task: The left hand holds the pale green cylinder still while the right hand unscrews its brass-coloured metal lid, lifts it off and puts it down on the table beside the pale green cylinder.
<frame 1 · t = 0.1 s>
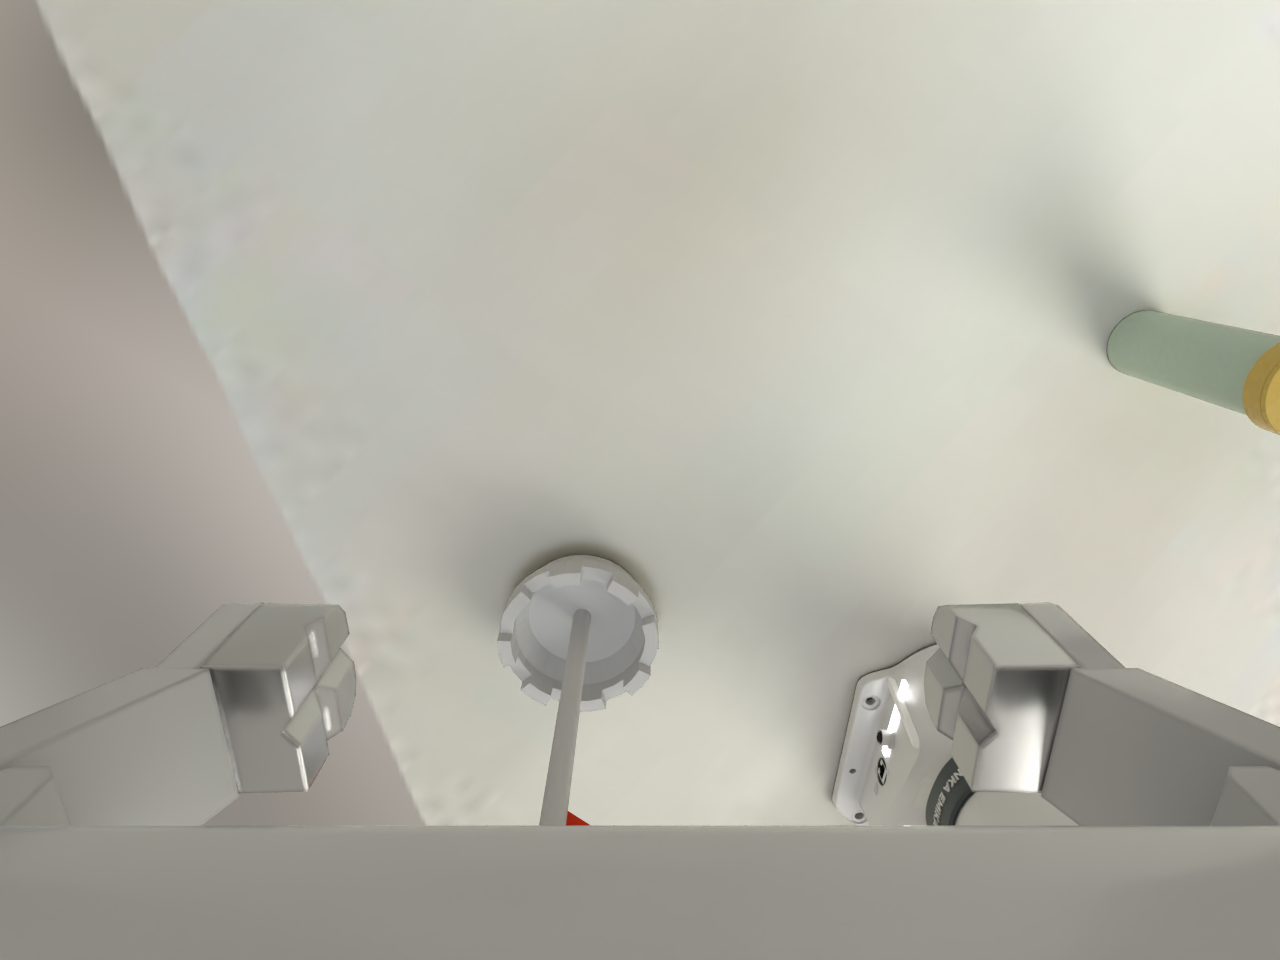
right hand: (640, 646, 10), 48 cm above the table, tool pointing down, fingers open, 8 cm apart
pale green cylinder: (1139, 342, 57), on the table
flag stand: (583, 610, 65), on the table
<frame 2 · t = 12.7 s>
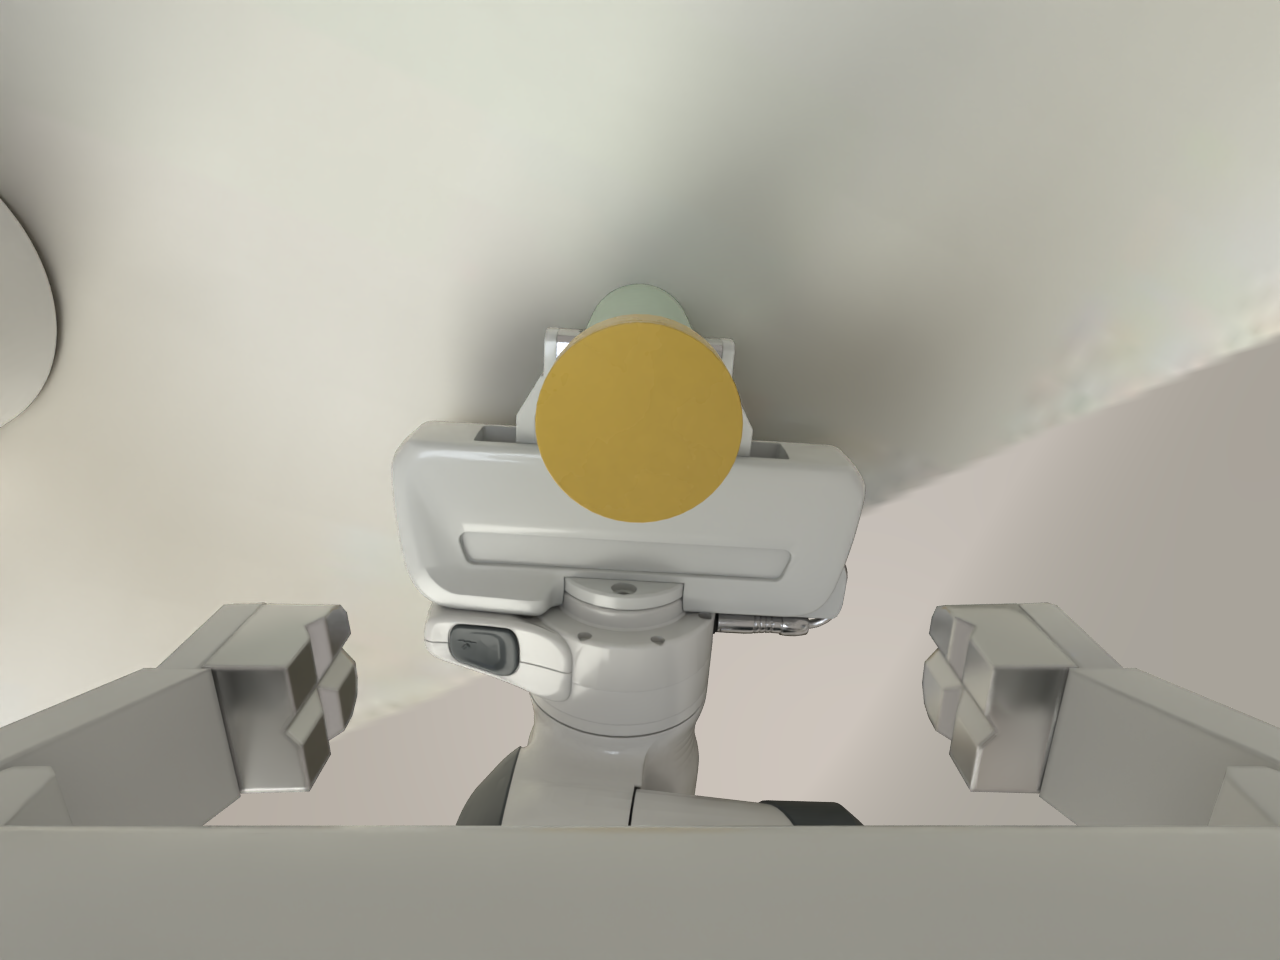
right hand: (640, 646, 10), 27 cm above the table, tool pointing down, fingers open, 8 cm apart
pale green cylinder: (638, 336, 36), on the table, touching left hand
lid: (639, 424, 21), point 16 cm above the table, screwed on, not yet turned
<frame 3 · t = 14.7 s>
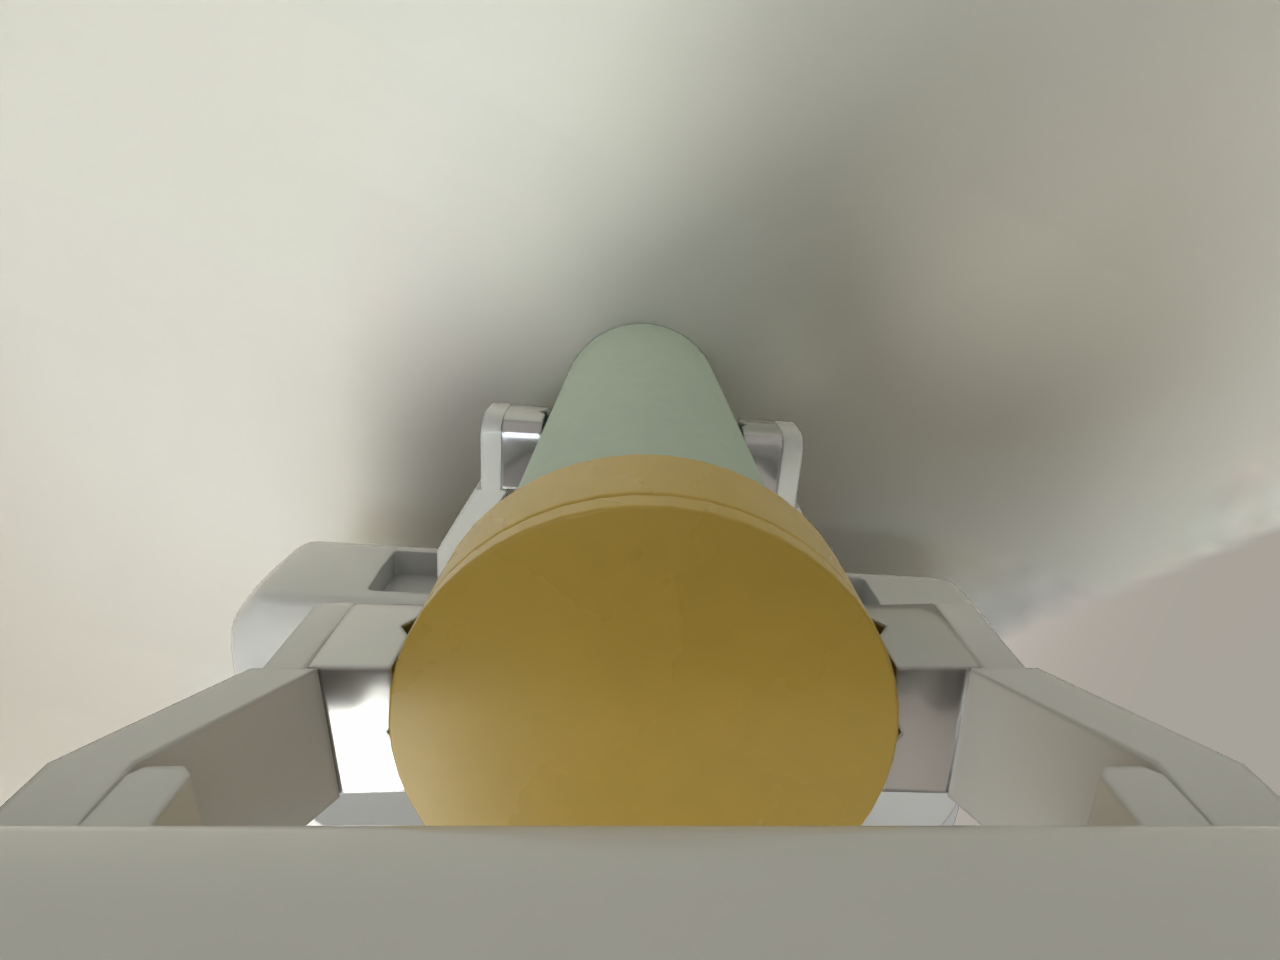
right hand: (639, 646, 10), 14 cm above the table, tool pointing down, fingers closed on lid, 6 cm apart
pale green cylinder: (640, 401, 23), on the table, touching left hand
lid: (643, 722, 9), point 16 cm above the table, screwed on, not yet turned, touching right hand
when the right hand's fingers open (14 cm above the table, at t = 16.1 s): lid stays where it is, point 16 cm above the table.
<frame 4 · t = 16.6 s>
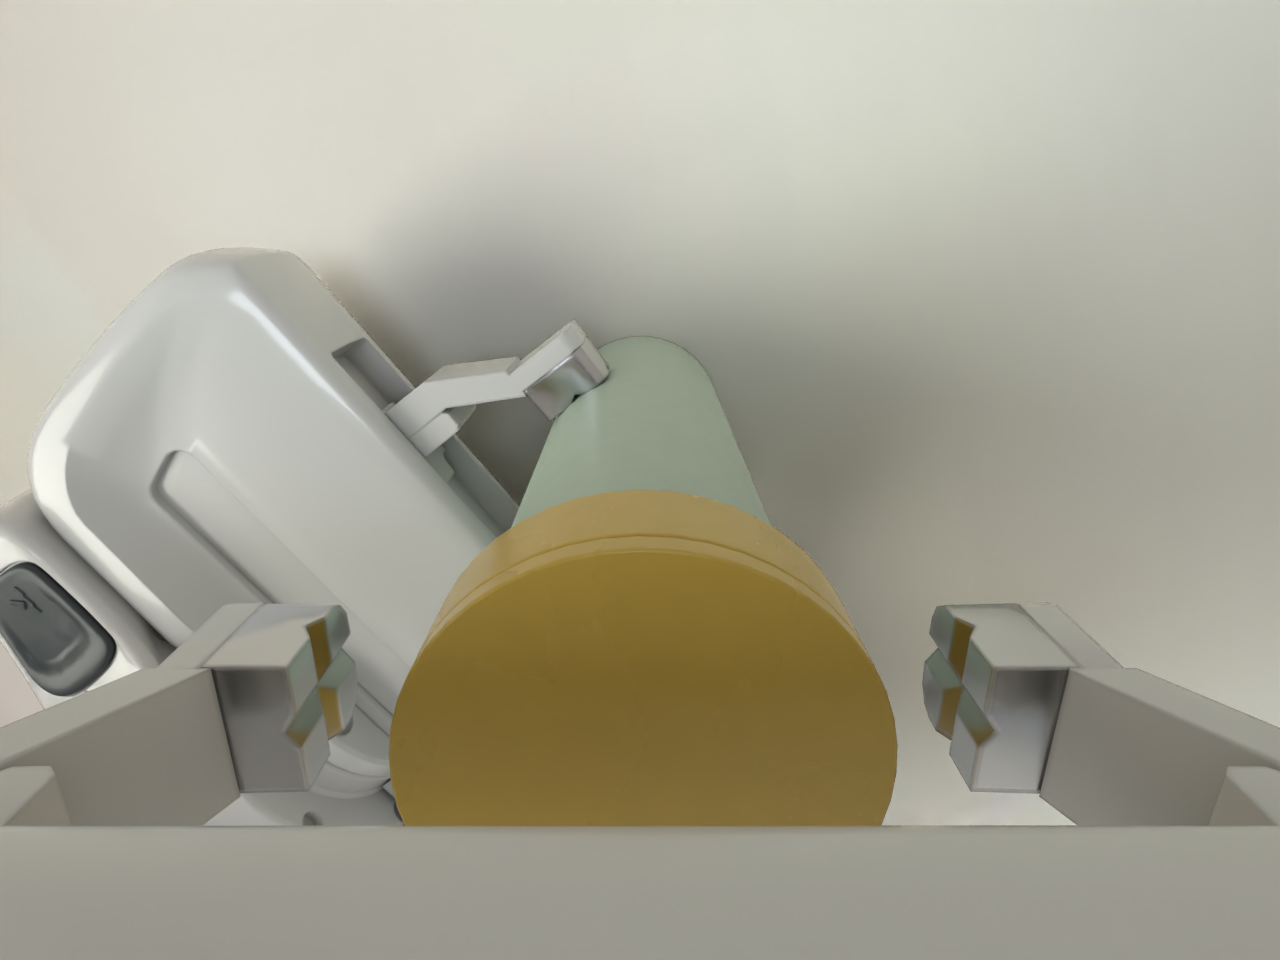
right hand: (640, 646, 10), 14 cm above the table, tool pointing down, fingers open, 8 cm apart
pale green cylinder: (640, 413, 24), on the table, touching left hand
lid: (642, 757, 9), point 16 cm above the table, turned 71° so far, risen 0.2 cm, still on its thread
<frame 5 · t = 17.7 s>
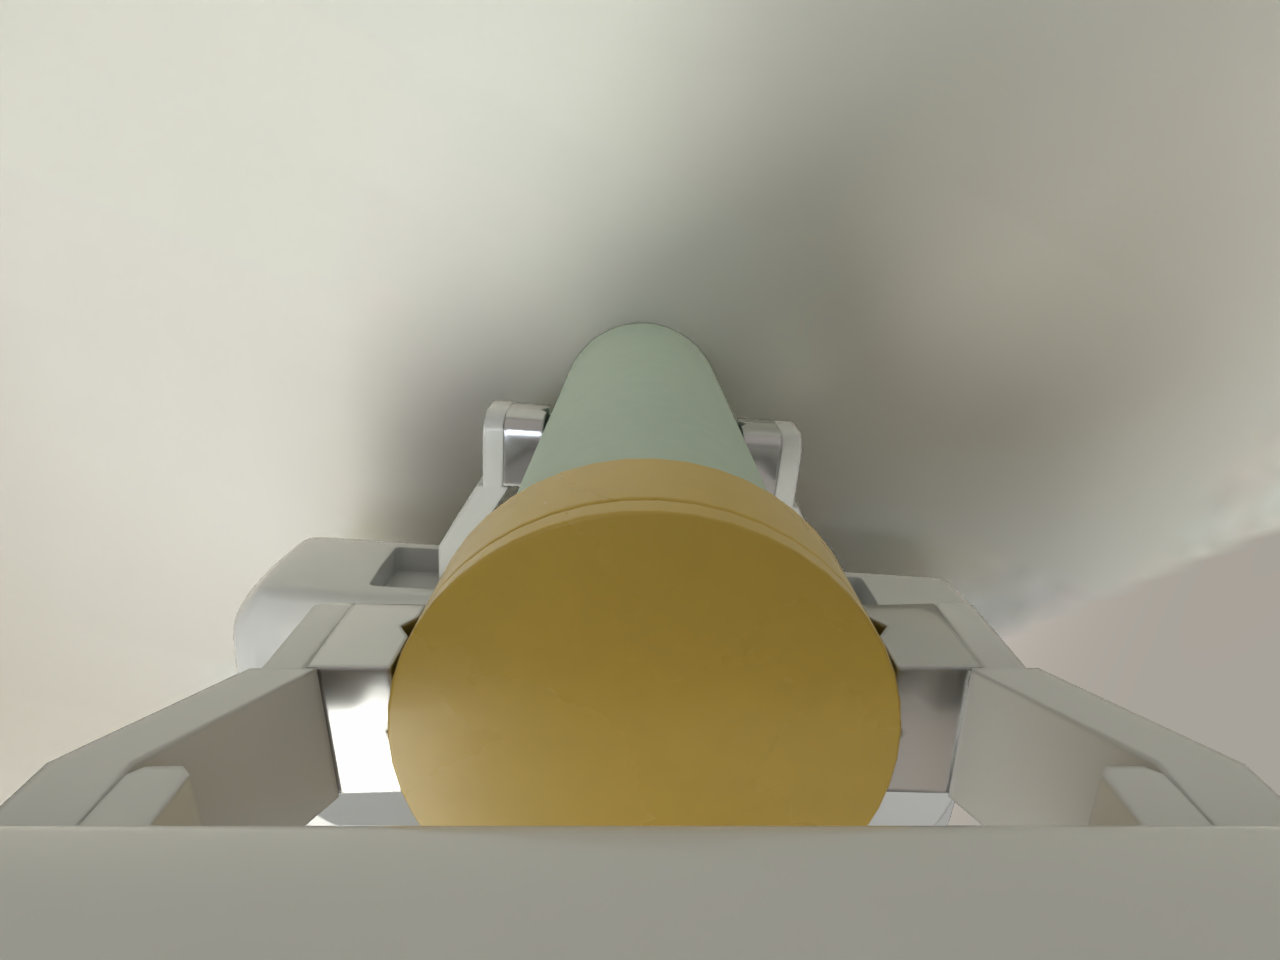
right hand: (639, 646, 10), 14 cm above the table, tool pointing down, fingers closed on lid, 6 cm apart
pale green cylinder: (641, 400, 24), on the table, touching left hand
lid: (644, 728, 9), point 16 cm above the table, turned 71° so far, risen 0.3 cm, still on its thread, touching right hand
when the right hand's fingers open (2 cm above the table, at t = 25.0 s): lid drops 2 cm, point 1 cm above the table.
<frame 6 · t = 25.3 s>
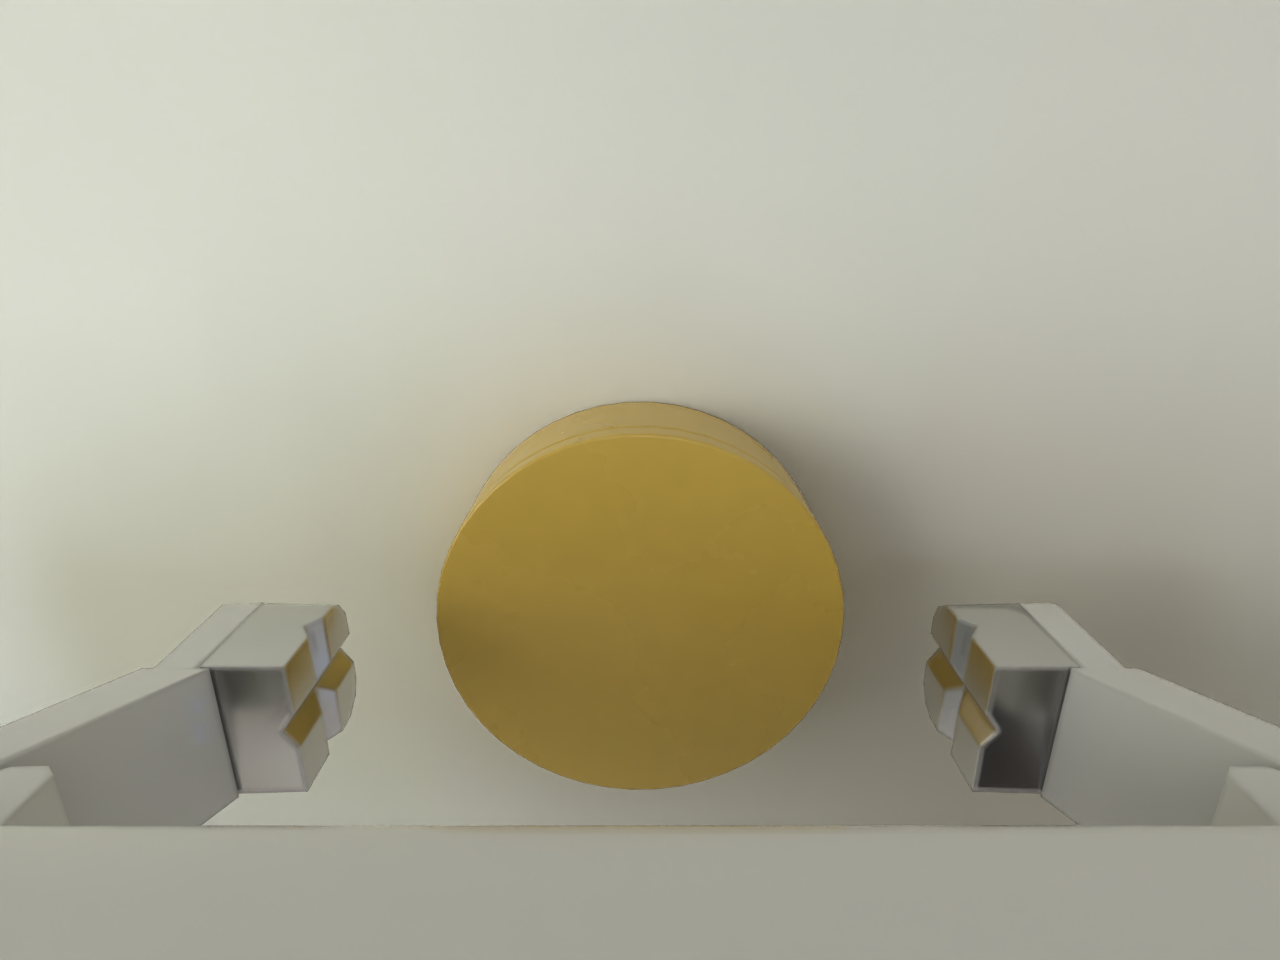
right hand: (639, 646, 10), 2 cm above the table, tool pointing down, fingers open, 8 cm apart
lid: (640, 616, 11), point 1 cm above the table, off its thread
when the left hand's fingers open (5 cm above the table, at t = 26.1 s): pale green cylinder stays where it is, on the table.
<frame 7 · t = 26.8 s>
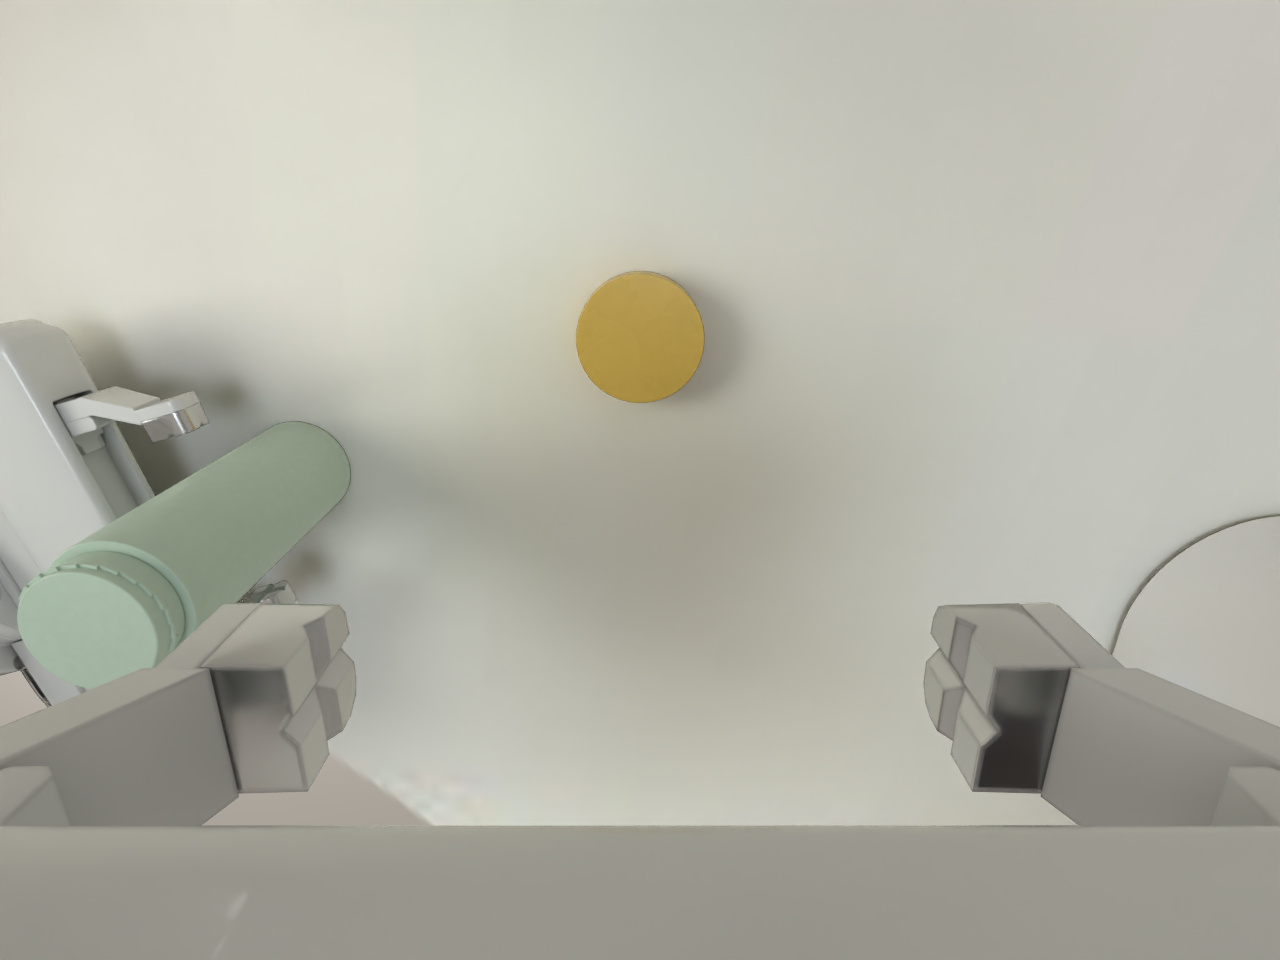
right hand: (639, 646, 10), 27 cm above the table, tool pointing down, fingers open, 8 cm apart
pale green cylinder: (301, 468, 37), on the table
lid: (640, 339, 34), point 1 cm above the table, off its thread
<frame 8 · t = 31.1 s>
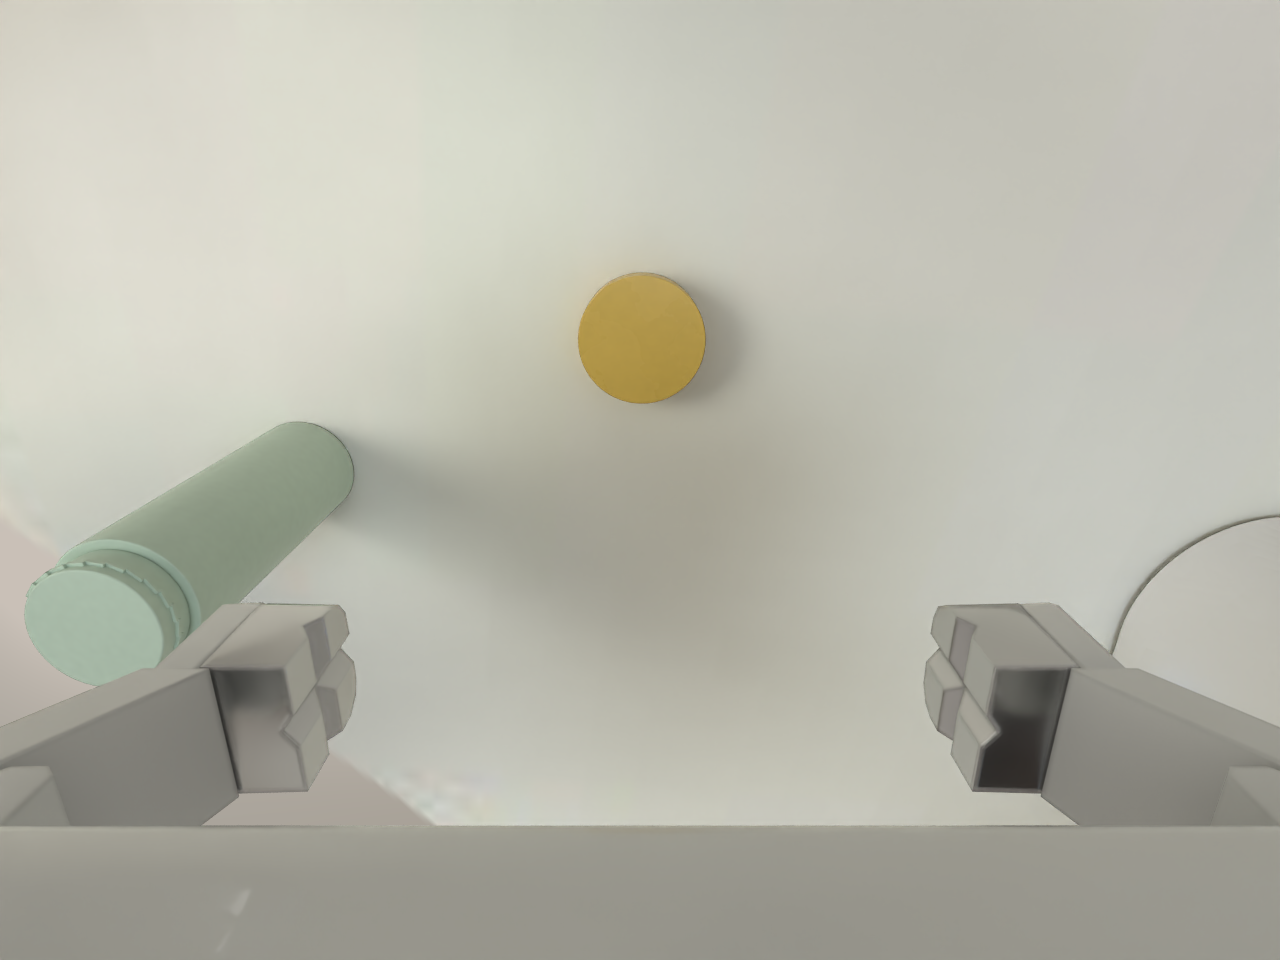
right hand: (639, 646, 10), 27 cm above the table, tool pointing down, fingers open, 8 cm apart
pale green cylinder: (305, 468, 38), on the table
lid: (641, 340, 34), point 1 cm above the table, off its thread
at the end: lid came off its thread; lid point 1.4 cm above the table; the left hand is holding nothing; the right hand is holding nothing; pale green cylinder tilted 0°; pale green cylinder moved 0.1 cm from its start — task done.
